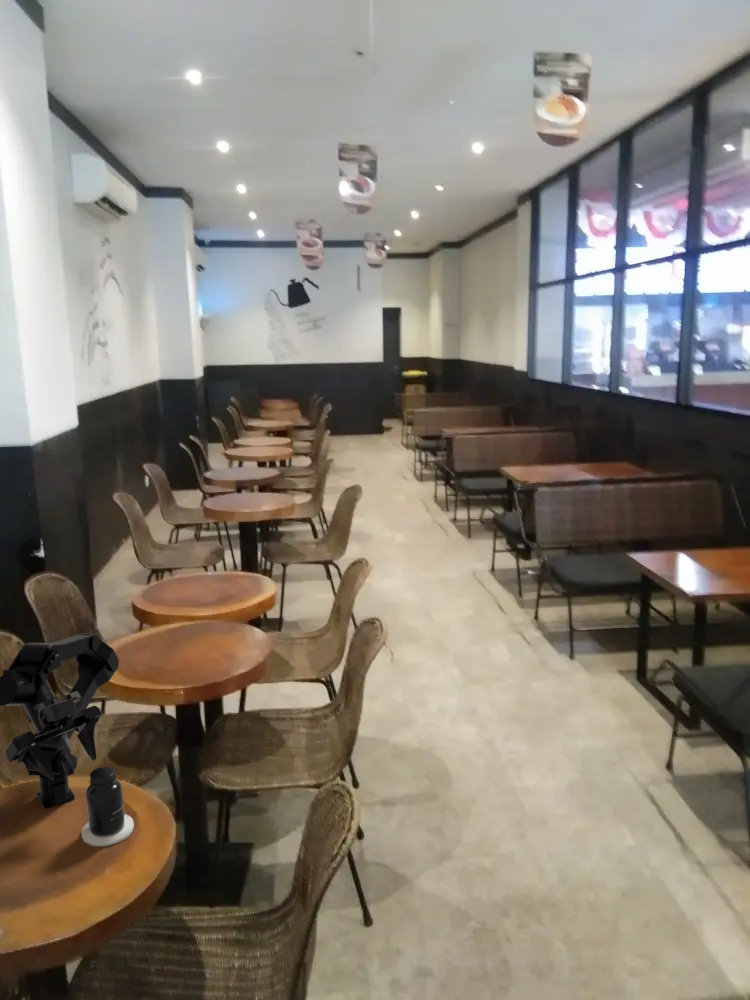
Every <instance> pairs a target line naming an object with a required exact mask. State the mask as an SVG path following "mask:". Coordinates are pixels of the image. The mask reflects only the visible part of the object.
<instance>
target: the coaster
mask: <svg viewBox="0 0 750 1000" xmlns="http://www.w3.org/2000/svg"><path fill="white" fill-rule="evenodd" d="M124 819H125V822H124V825H123V827H122V828H121V829H120V830H119V831H117V832H115V833H113V834H110V835H106V836H98V835H95V834H93V833H92V832H91V831H90V829H89V821H87V823H85V825H84V826H83V828H82V829H81V840H82V839H83V840H82V841H83V842H84V843H85V844H86V843H87V844H86V845H88V844H89V845H88V846H90V845H91V846H92V847H96V848H99V847H100V848H101V847H109V846H113V845H116V844H118V843H120V842H123V841H124V840H126V839H127V838H128V837H129V836H131V835H132V833H133V832H134V829H135V824H134V823H135V822H134V820H133V818H132V817H131V816H130V815H128V814H126V813H124Z"/></svg>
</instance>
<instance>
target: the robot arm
mask: <svg viewBox="0 0 750 1000" xmlns="http://www.w3.org/2000/svg"><path fill="white" fill-rule="evenodd" d="M72 658H74V661H75V662H76V664H77V666H76V669H77V674H78V678H77V680H76V681H75V683H74V684H73V686H72V688H71V690H70V691H69V693H68V694H66V698H65V700H61V699H60V697H59V696H58V695H57V696H55V695H54V694H53V692H52V691H51V688H50V687H49V685H48V683H47V682H48V681H49V677H48V675H50V674H51V673H52V672H54V671H56V670H57V669H58V668H60V667H62V664H63V662H64V661H67V660H68V659H72ZM119 665H120V659H119V657H118V655H117V654H116V652H115V650H114V648H113V647H111V646H109V644H107V643H106V642H104V641H102V639H101V637H100V636H99V635H98V634H96V633H84V632H79V633H76V634H75V635H73V636H70V637H66V638H62V639H59V640H56V641H53V642H27V643H25V644H23V645H22V646H21V649H20V650H19V652H18V653H17V654H16V656H15V657H14V659H13V660H12V662H11V664H10V665H9V667H8V668H7V669H3V671H2V675H1V676H0V706H1V707H3V706H8V707H9V706H24V709H25V711H26V713H27V717H26V719H27V721H28V723H30V722H31V723H32V724H33V727H34V728H35V733H34V732H32V731H31V730H29V731H27V732H25V733H22V734H20V735H17V736H15V737H13V738H12V739H11V741H10V742H9V744H8V745H7V746H6V748H5V752H4V753H5V756H6V758H7V760H8V762H9V763H12V762H14V761H16V763H17V764H20V763H23V764H24V766H25V769H26V771H27V774H28V775H29V776H38V780H39V787H40V789H39V790H40V791H39V792H38V793H36V794H35V796H36V799H37V800H38V801H39V803H40V805H41V807H42V808H43V809H48V808H51V807H54V806H57V805H60V804H62V803H65V802H69V801H71V800H74V799H75V798H76V796H75V794H74V792H73V791H72V790H71V788H70V787H69V786H70V783H69V776H71V775H74V774H75V770H76V769H77V766H78V757H77V756H75V755H74V754H73V753H72V748H71V741H70V740H71V738H72V736H73V734H74V733H75V732H78V734H77V735H76V737H77V738H78V740H79V742H80V743H81V745H82V747H83V749H84V751H85V752H86V753H87V755H88V756H89V758H90V759H91V760H92V762H94V761H96V759H97V758H98V757H97V751H96V743H95V727H96V726H97V725H98V724H99V721H100V719H102V717H103V716H104V714H103V712H102V710H101V708H100V707H98V706H96V705H92V706H89V705H90V703H91V701H92V699H93V698H94V696H95V693H96V692H97V690H98V688H100V687H102V686H103V685H104V684H106V683H108V682H109V681H111V679H112V677H113V676H114V675H115V673H116V672H117V670H118V668H119Z"/></svg>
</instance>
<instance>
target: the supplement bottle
mask: <svg viewBox="0 0 750 1000" xmlns="http://www.w3.org/2000/svg"><path fill="white" fill-rule="evenodd" d="M89 778H90V780H89V785H88V787H87V789H86V791H85V794H86V795H85V797H86V807H87V817H88V822H89V829H90V831H91V832H92V833H93V834H95V835H98V836H106V835H110V834H113V833H115V832H117V831H119V830H120V829H121V828H122V827H123V825H124V822H125V819H124V814H125V808H124V799H123V798H124V795H123V786H122V783H121V781H119V780H118V779H117V773H116V770H115V768H114V767H111V766H101V767H97V768H95V769H94V770H92V771H91V772H90V775H89Z"/></svg>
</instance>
